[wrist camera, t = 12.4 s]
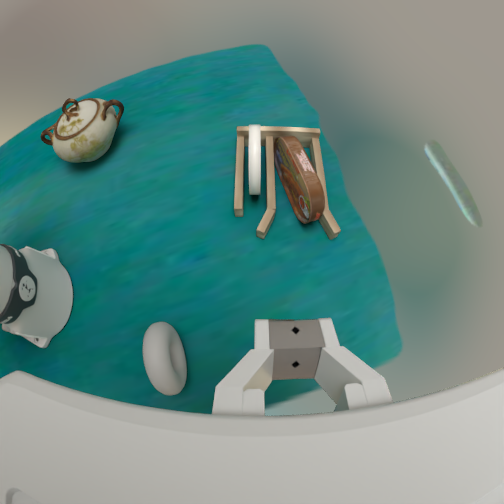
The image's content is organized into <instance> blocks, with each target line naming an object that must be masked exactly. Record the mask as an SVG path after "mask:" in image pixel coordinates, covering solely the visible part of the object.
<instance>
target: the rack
mask: <svg viewBox="0 0 504 504" xmlns="http://www.w3.org/2000/svg"><path fill="white" fill-rule="evenodd" d="M260 135H261V146H266V190H267V210H266V212H265V214H264V216H263V218H262V220H261V222H260V224H259V226H258V228H257V237H259V238H262V239H264V238H265V236H266V234H267V232H268V230H269V227H270V225H271V223H272V221H273V219H274V216H275V209H276V206H275V177H274V152H273V146H274V141H275V139H276V138H277V137H284V136H295V137H296V138H297V139H298V140H299V141H300V143H301V144H302V146H303V147H308V148H310V154H311V162H312V165H313V167H314V169H315V171H316V173H317V175H318V177H319V179H320V181H321V184H322V187H323V191H324V195H325V209H324V212H323V214H322V216H321V218H320V219H318V220H319V221H320V223H321V225H322V227H323V228H324V230H325V232H326V234H327V235H328V237H329V239H330V240H331V239H333V238H335V237H337V235H338V234H339V233H340V231H341V230H340V228H339V226H338V224H337V223H336V221H335V219H334V218H333V216H332V214H331V212H330V211H329V209H328V200H327V192H326V185H325V177H324V170H323V163H322V157H321V150H320V144H319V135H320V129H315V128H299V127H267V126H260ZM245 146H249V126H245V127H237V154H236V176H235V200H234V211H235V217H243V194H244V155H245Z"/></svg>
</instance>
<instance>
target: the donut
mask: <svg viewBox="0 0 504 504" xmlns="http://www.w3.org/2000/svg"><path fill="white" fill-rule="evenodd" d="M143 359H144V365H145V368H146V372H147V374H148V377H149V379H150V381H151V383H152V384H153V386H154V387H155V388H156V389H157V390H158V391H159V392H161V393H162V394H165V395H175V394H178V393H179V392H180V391H181V390H182V389H183V387H184V386H185V382H186V377H187V366H186V358H185V353H184V349H183V345H182V342H181V340H180V337H179V335H178V333H177V332H176V330H175V329H174V328H173V327H172V326H171V325H169V324H168V323H166V322H157V323H154V324H152V325H151V326H150V327H149V328H148V330H147V331H146V333H145V336H144V340H143Z"/></svg>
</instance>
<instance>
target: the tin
mask: <svg viewBox="0 0 504 504" xmlns="http://www.w3.org/2000/svg"><path fill="white" fill-rule="evenodd" d="M273 152H274V161H275V166H276V169H277V172H278V175H279V177H280V180H281V182H282V184H283V187H284V189H285V191H286V193H287V196H288V198H289V201H290V203H291V205H292V208H293V210H294V212H295V214H296V216H297V218H298V219H299V220H300V221H301V222H302V223H304V224H306V223H308V222H311V221H315V220H318V219H320V218H321V216H322V214H323V212H324V209H325V195H324V191H323V187H322V184H321V181H320V179H319V177H318V175H317V173H316V171H315V169H314V167H313V165H312V163H311V161H310V159H309V157H308V156H307V154H306V152H305V150H304V148H303V146H302V144H301V143H300V141H299V140H298V139H297V138H296V137H295V136H284V137H277V138H276V139H275V141H274V146H273Z"/></svg>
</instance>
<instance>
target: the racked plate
mask: <svg viewBox="0 0 504 504" xmlns="http://www.w3.org/2000/svg"><path fill="white" fill-rule="evenodd" d="M260 184H261V135H260V125H249V194H250V195H260Z"/></svg>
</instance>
